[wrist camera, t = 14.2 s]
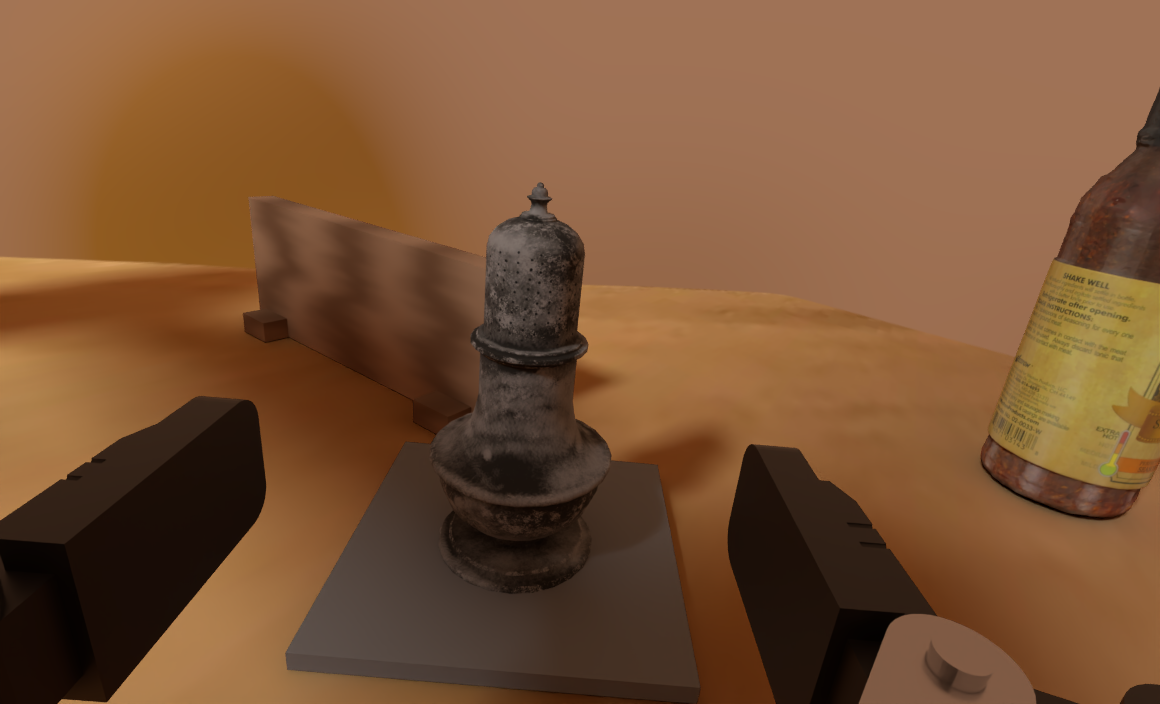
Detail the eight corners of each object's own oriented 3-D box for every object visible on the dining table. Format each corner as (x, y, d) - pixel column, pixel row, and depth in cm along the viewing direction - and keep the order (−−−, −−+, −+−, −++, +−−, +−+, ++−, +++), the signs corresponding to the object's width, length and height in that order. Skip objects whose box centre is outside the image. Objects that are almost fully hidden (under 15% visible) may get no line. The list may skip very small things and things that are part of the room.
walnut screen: (238, 327, 38) (222, 198, 35) (304, 314, 41) (295, 195, 38) (459, 446, 27) (463, 274, 24) (523, 415, 31) (534, 261, 28)
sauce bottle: (1131, 546, 25) (1420, 3, 18) (962, 481, 29) (1145, 9, 21) (1130, 487, 30) (1359, 39, 22) (986, 437, 33) (1142, 39, 26)
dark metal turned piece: (548, 474, 25) (575, 172, 20) (633, 564, 20) (692, 201, 16) (406, 511, 22) (402, 164, 17) (468, 627, 17) (484, 197, 13)
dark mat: (287, 669, 16) (285, 652, 16) (405, 453, 26) (405, 441, 26) (696, 703, 16) (700, 688, 16) (655, 476, 26) (657, 464, 26)
